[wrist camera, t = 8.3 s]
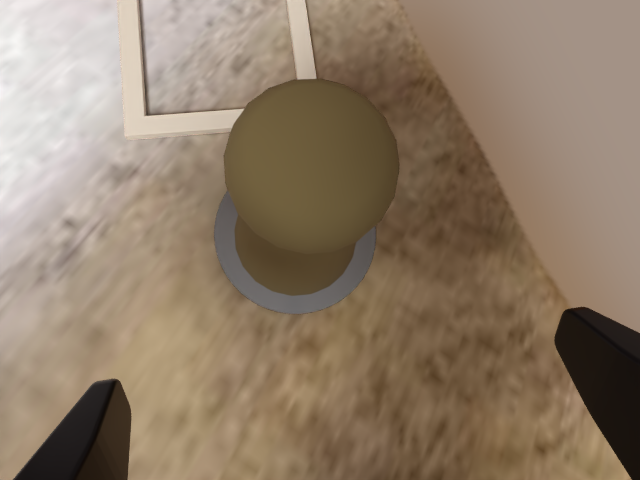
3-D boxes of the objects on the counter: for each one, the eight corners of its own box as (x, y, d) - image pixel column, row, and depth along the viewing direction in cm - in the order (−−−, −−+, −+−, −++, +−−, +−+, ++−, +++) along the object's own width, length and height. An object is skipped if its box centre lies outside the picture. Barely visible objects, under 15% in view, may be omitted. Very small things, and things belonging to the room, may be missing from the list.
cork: (208, 241, 23) (150, 152, 12) (288, 153, 24) (303, 2, 13) (303, 322, 22) (334, 305, 11) (380, 228, 24) (471, 136, 13)
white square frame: (321, 124, 25) (322, 120, 24) (127, 140, 24) (124, 136, 23) (298, -36, 27) (298, -43, 26) (117, -29, 26) (114, -36, 25)
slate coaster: (370, 319, 23) (372, 319, 23) (206, 307, 22) (204, 306, 22) (376, 167, 25) (379, 163, 24) (224, 152, 24) (224, 148, 24)
